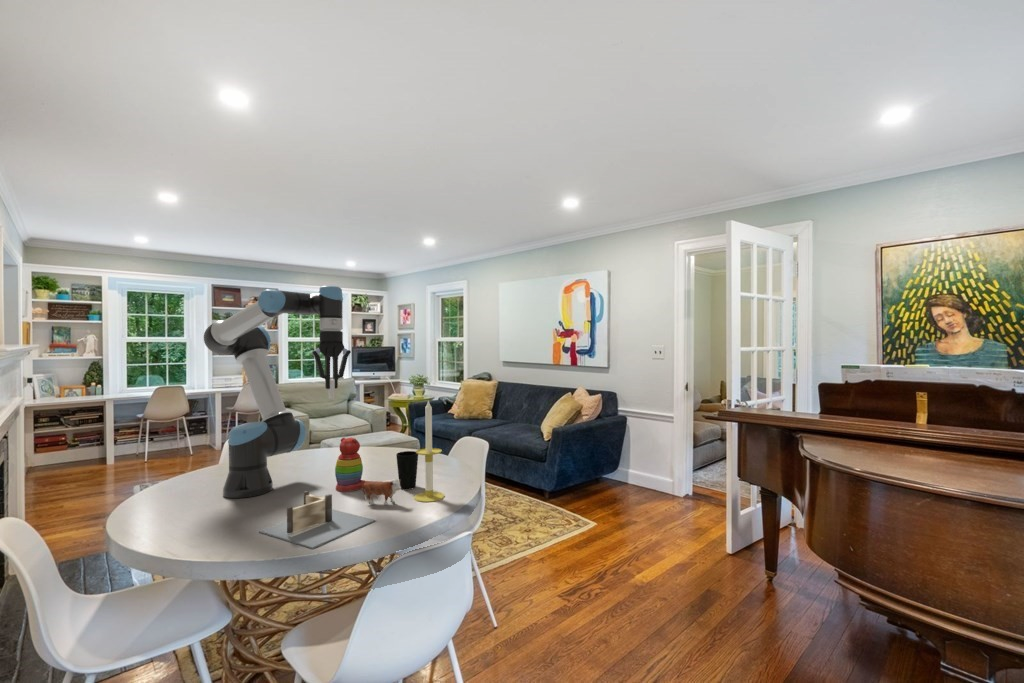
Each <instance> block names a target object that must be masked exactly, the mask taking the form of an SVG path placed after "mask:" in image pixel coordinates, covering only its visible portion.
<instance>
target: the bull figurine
mask: <svg viewBox="0 0 1024 683" xmlns="http://www.w3.org/2000/svg"><path fill="white" fill-rule="evenodd" d="M400 481H401V480H399V478H398V479H397V478H394V479H389V480H388V479H387V480H383V481H381V480H380V481H379V480H377V481H373V480H365V482H364V483H363V486H362V488H363V489H362V492H363V496H364V499H365V501H367V502H369V505H371V506H374V505H375V502H374V501H373V500H372V495H375V496H376V497H377V498H379V497H380V496H384V502H383V504H384V506H388V505H389V504H388V500H389V499H390V503H391V504H395V500H394V499H393V497H394V495H395V494H396V492H397V491H400V490H402V489H401V486H400Z"/></svg>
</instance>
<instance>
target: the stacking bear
mask: <svg viewBox="0 0 1024 683" xmlns="http://www.w3.org/2000/svg"><path fill="white" fill-rule="evenodd" d="M360 448H361V445H360V442H359V441H358V440H357V439H356V438H354V437H346V438H345V437H342V438H340V443H339V452H340V454H339V455H338V457H337V459H336V461H335V462H336V463H335V468H334V469H335V470H334V475H335V480H336V485H335V490H336V491H337V492H343V493H345V492H353V491H359V490H363V488H362V486H363V483H364V482H365V481H366V480H365V479H362V476H363V472H364V466H363V463H362V462H363V461H362V457H361V454H359V453H358V452H359V450H360Z"/></svg>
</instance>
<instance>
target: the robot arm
mask: <svg viewBox="0 0 1024 683" xmlns="http://www.w3.org/2000/svg"><path fill="white" fill-rule="evenodd" d="M343 300H344V298H343V290H342V288H341V287H339V286H333V285H323V286H320V287H319V291H318V293H317V292H316V293H309V292H308V293H306V292H297V291H290V290H289V291H287V290H279V289H269V288H267V289H264V290H262V291H261V292H260V294H259V296H258V299H257V301H255V302H254V303H252V304H250V305H249V306H247V307H245V308H243V309H242V310H240V311H238V312H236V313H234V314H233V315H231V316H229V317H227V318H226V319H224V320H223V319H221V320H220V319H219V320H217V321H215V322H213V323H212V324H210V325H208V326H207V328H206V329H205V330H204V333H203V342H204V345H205V346H206V348H207V349H208V350H210V351H211V352H212V353H214V354H217V355H221V356H234V359H235V361H236V363H237V364H240V365H242V368H243V370H244V372H245V375H246V378H247V381H248V384H249V387H250V389H251V392H252V395H253V398H254V400H255V403H256V406H257V408H258V410H259V413H260V416H261V421H252V422H245V423H242V424H239V425H236V426H234V427H232V428H231V429H230V431H229V432H228V439H227V440H228V441H227V444H228V472H227V473H228V474H227V477H226V479H225V481H224V484H223V488H222V496H223V497H225V498H226V499H244V498H245V499H246V498H251V497H256V496H259V495H263V494H266V493H269V492H271V491H272V490H273V489H274V487H273V486H274V484H273V482H274V481H273V479H272V477H271V474H270V472H269V468H268V458H270V457H273V456H277V455H281V454H282V455H283V454H286V453H287V454H288V453H289V454H290V453H291V452H293V451H294V452H295V451H297V450H299V449H300V448H301V447H302V446H304V445H303V444H304V443H305V441H306V440H305V439H306V436H307V435H306V434H307V430H306V426H305V425H306V424H304V422H303V421H302V420H300V419H298V418H295V417H294V415H293V413H292V412H291V411H289V410H287V408H286V407H285V403H284V401H283V398H282V396H281V393H280V390H279V388H278V384H277V382H276V381H275V378H274V375H273V372H272V369H271V366H270V365H269V361H268V359H267V357H268V355H269V351H270V349H271V346H272V344H271V342H272V341H271V339H272V338H271V336H270V334H269V332H268V330H266V329H265V328H264V327H262V326H261V325H264V324H266V323H268V322H269V321H272V319H274V318H276V317H278V316H281V315H282V314H295V315H296V314H297V315H300V316H312V315H319V330H320V332H319V344H318V347H317V348H316V349H315V350H312V351H311V354H312V355H313V357H314V359H315V364H316V367H317V371H318V375H319V377H320V378H321V379H324V381H325V389H326V390H328V399H330V400H331V399H336V396H335V393H336V392H335V391H336V390H335V389H338V387H339V385H338V383H339V382H338V381H339V379H341V378H343V377H344V374H345V370H346V366H347V362H348V358H349V356H350V354H351V350H349V349H347V348H346V347H345V345H344V343H343V341H344V340H343V336H344V333H343V331H342V330H343V328H344V327H343V323H344V322H343ZM320 354H322V355H323V357H324V367H323V365H322V361H321V357H320ZM341 354H342V357H341V362H340V366H339V361H338V360H339V356H340V355H341ZM331 358H332V359H331ZM331 360H332V379H331Z"/></svg>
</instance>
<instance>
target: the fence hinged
mask: <svg viewBox="0 0 1024 683" xmlns="http://www.w3.org/2000/svg"><path fill="white" fill-rule="evenodd" d="M286 521H287V533H292V532H295V531H298V530H301V529H304V528H307V527H310V526H313V525H316V524H319V523H321V522H324V521H325V500H323V499H322V500H318V501H315V502H312V503H308V504H305V505H304V504H302V505H299V506H296V507H294V506H288V507H286Z"/></svg>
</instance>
